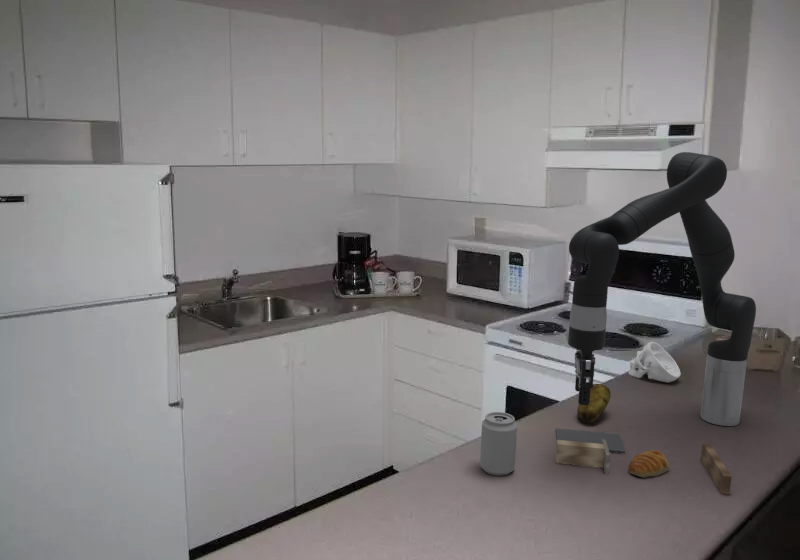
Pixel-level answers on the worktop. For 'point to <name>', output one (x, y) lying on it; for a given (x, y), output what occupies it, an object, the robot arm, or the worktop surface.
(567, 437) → the mat
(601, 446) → the scraper
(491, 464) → the can
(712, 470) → the rail
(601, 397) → the potato
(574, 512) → the worktop surface
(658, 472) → the pastry
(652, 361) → the skull bowl
